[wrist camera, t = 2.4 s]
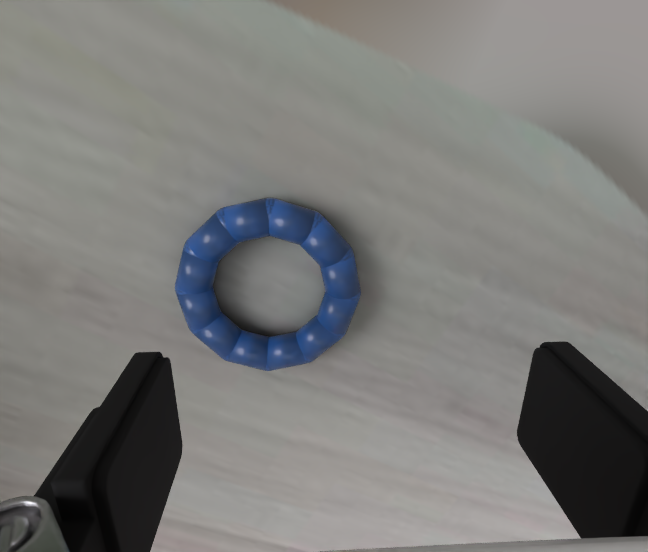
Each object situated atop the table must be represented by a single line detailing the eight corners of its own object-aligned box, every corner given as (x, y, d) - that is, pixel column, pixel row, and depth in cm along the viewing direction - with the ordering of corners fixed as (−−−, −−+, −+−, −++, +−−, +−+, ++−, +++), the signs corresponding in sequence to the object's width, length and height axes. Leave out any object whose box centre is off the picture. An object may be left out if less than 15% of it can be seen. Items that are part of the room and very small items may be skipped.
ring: (272, 157, 16) (269, 162, 15) (391, 287, 18) (397, 301, 17) (145, 278, 18) (133, 292, 17) (268, 385, 20) (266, 404, 19)
